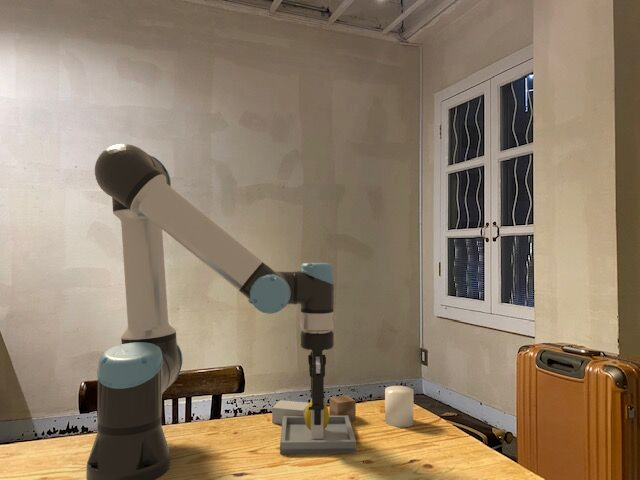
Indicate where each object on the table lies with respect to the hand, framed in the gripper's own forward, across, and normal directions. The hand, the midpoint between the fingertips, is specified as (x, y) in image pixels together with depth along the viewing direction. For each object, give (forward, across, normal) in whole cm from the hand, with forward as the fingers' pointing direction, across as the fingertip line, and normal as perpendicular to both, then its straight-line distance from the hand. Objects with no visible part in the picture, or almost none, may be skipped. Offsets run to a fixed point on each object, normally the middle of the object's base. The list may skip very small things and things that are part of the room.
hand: (316, 432), depth 108 cm
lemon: (+1, 0, 0) cm, 1 cm away
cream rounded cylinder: (+1, +10, -21) cm, 23 cm away
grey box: (+2, +12, +6) cm, 14 cm away
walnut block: (+1, +13, -7) cm, 15 cm away
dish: (+1, 0, 0) cm, 1 cm away
